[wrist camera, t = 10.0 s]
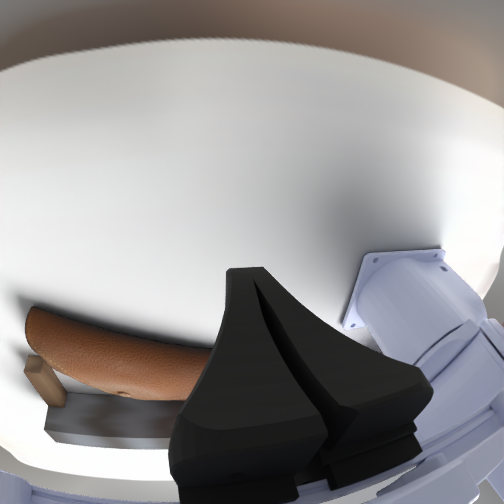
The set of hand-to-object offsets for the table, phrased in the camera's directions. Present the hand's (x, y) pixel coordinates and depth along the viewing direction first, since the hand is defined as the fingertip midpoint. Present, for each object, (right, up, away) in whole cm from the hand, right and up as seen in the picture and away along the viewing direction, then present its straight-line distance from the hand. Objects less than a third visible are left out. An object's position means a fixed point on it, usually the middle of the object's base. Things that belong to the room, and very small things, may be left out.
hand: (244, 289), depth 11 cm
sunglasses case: (-10, -8, +13) cm, 19 cm away
